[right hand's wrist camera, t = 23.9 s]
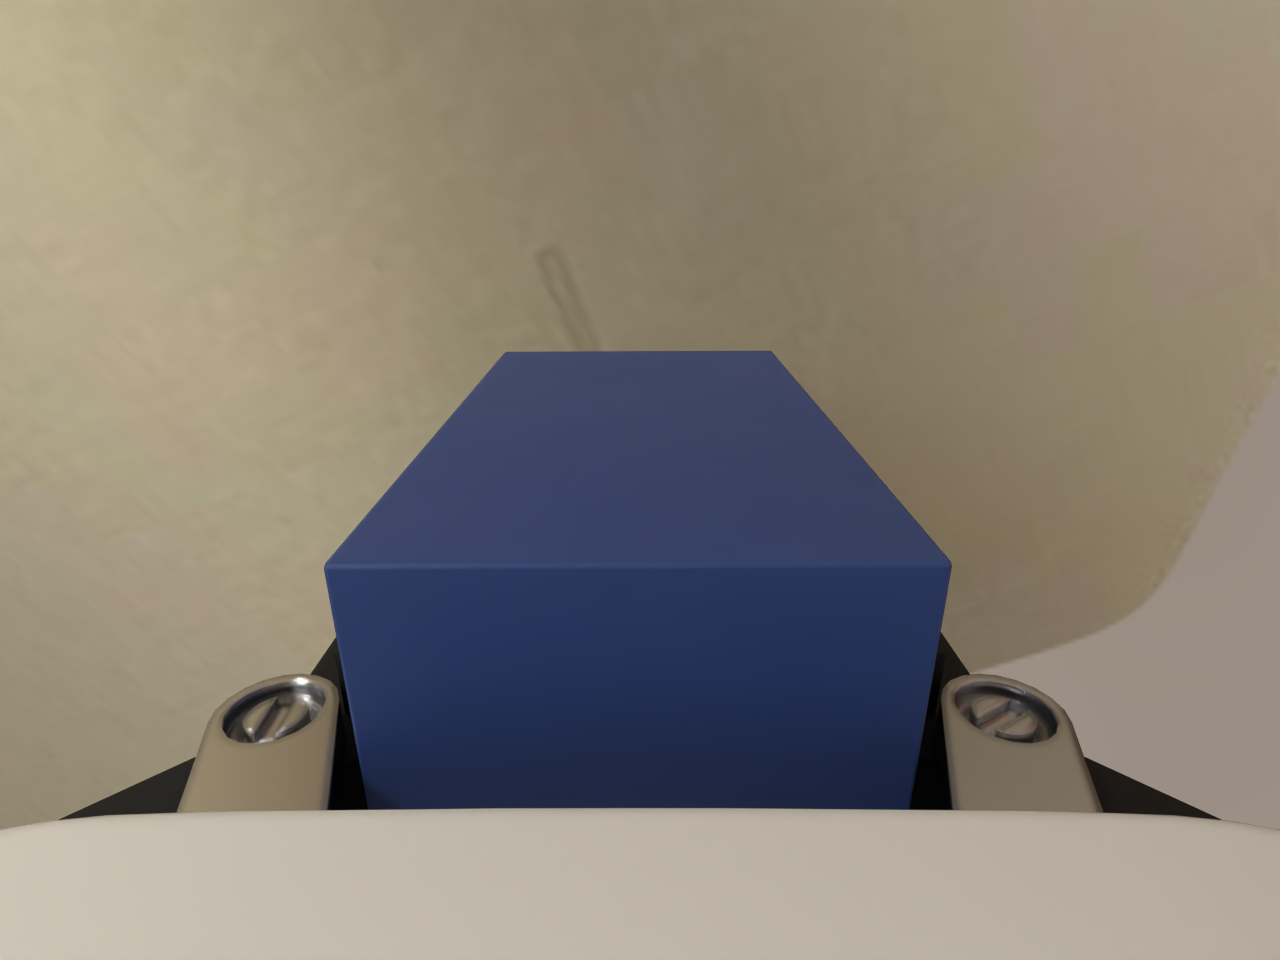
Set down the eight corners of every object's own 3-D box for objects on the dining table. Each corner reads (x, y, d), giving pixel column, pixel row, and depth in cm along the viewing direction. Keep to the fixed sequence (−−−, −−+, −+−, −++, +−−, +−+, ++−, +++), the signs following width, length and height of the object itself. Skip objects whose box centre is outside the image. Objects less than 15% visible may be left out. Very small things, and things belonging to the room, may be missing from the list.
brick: (772, 350, 14) (954, 563, 6) (753, 638, 16) (866, 1072, 8) (504, 351, 14) (320, 564, 6) (525, 639, 16) (413, 1073, 8)
